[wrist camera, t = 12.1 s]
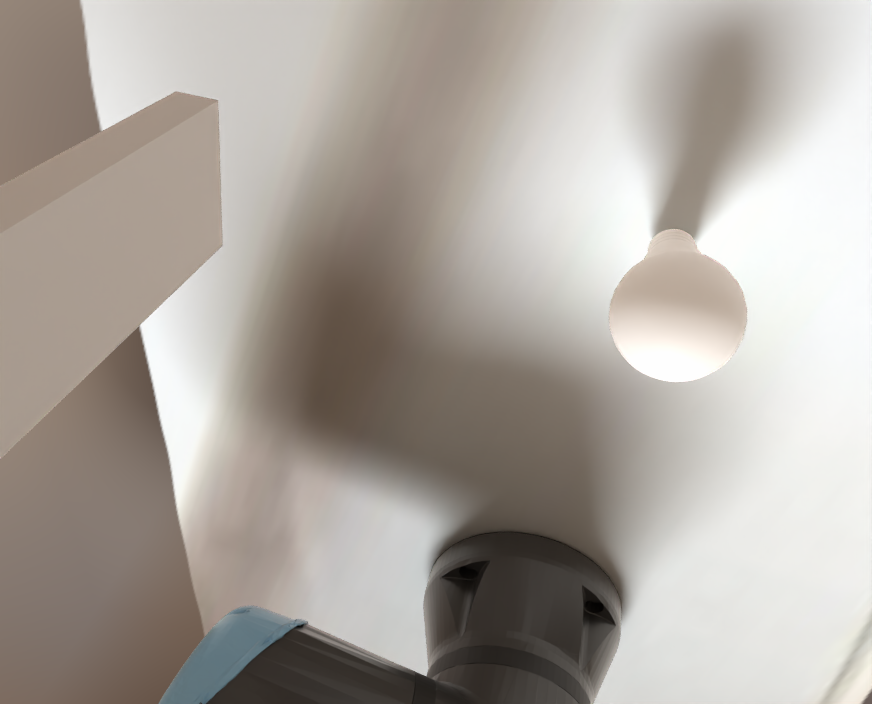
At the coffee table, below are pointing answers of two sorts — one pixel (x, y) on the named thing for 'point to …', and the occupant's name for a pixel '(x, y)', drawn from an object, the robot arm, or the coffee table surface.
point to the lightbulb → (677, 311)
